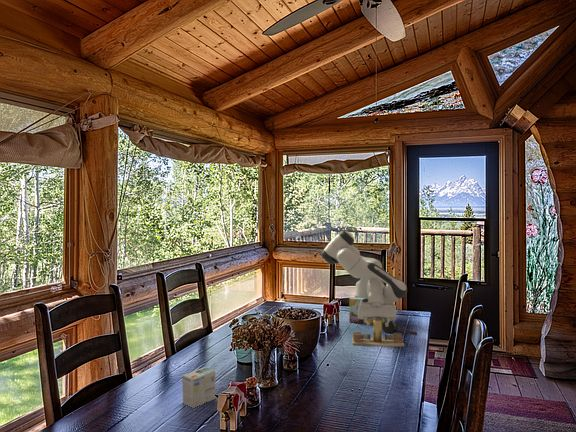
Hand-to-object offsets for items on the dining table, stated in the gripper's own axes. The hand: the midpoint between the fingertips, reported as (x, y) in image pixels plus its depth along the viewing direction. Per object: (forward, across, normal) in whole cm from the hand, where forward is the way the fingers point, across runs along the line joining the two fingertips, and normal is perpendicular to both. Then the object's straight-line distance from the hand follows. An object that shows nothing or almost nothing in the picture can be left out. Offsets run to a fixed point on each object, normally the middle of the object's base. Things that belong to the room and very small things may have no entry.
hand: (377, 326), depth 225 cm
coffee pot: (-7, -14, -20) cm, 25 cm away
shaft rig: (+6, 0, -7) cm, 9 cm away
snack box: (-21, +3, -34) cm, 41 cm away
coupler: (+5, 0, -6) cm, 8 cm away
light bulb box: (+60, +71, +47) cm, 104 cm away
